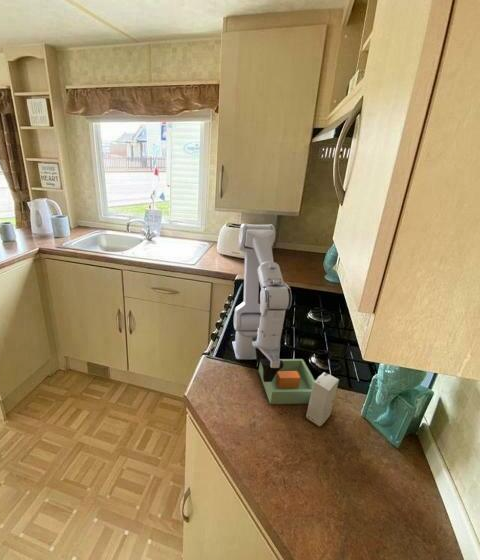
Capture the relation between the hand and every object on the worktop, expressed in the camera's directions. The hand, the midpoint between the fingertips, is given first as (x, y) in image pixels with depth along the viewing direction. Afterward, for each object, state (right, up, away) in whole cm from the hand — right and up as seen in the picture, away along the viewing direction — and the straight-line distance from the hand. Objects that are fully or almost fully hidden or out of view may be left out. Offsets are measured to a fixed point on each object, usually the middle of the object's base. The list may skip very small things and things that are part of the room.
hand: (263, 370), depth 85 cm
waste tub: (+9, -7, +8) cm, 14 cm away
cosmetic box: (+14, -12, -2) cm, 18 cm away
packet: (+9, -6, +8) cm, 13 cm away
